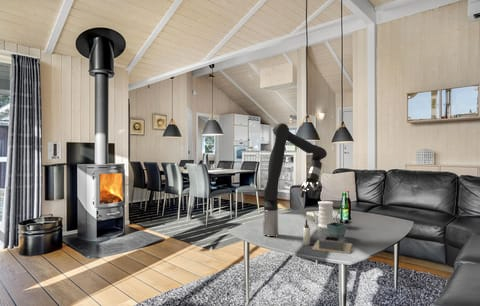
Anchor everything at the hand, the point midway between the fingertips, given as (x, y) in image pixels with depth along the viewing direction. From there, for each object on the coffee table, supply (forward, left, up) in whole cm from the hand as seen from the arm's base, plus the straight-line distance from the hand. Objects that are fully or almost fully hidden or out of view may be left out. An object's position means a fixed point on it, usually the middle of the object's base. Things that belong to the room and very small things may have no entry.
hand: (307, 197), depth 190 cm
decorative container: (+5, +38, -27) cm, 46 cm away
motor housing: (+16, -11, -27) cm, 33 cm away
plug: (+1, -10, -27) cm, 29 cm away
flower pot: (+16, +9, -27) cm, 33 cm away
